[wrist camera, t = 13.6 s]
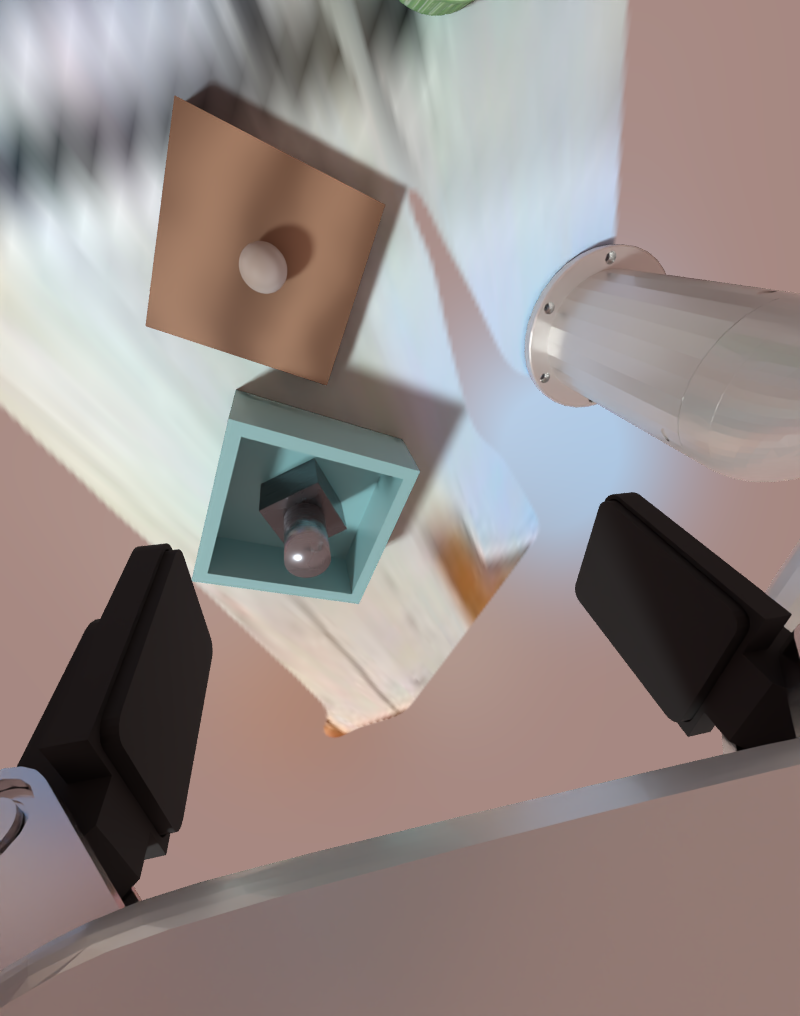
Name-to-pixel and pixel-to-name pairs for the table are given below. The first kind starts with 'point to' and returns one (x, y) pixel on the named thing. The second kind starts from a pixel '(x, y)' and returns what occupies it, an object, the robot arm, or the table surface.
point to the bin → (281, 447)
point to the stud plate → (243, 213)
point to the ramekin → (435, 6)
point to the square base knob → (303, 517)
